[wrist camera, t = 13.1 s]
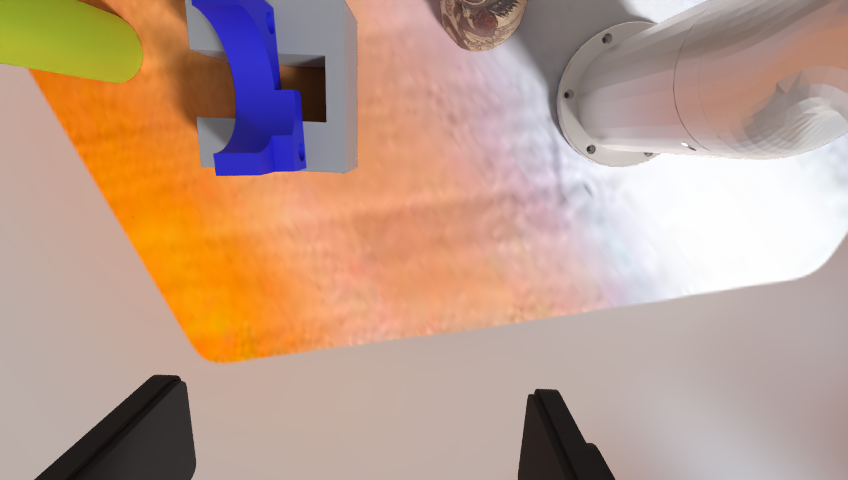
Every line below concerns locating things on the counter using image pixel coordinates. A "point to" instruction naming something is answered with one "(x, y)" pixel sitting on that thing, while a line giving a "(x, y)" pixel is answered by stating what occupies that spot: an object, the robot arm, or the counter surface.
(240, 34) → the cable clip
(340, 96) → the slotted block
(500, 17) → the figurine
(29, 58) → the soap dispenser
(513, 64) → the counter surface
